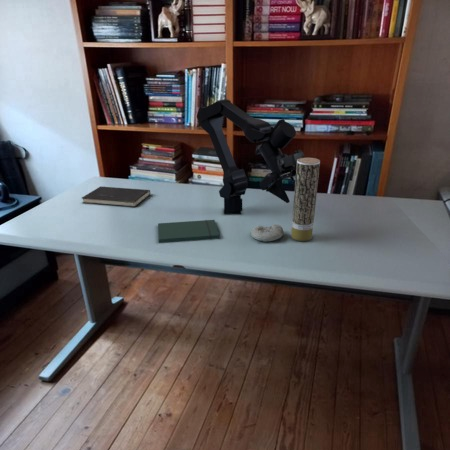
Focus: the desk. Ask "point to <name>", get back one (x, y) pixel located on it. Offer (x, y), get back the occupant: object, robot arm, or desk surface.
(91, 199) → the hardcover book
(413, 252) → the desk surface
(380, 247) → the desk surface
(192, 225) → the notebook
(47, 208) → the desk surface
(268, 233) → the fossil
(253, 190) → the desk surface
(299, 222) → the paper tube
